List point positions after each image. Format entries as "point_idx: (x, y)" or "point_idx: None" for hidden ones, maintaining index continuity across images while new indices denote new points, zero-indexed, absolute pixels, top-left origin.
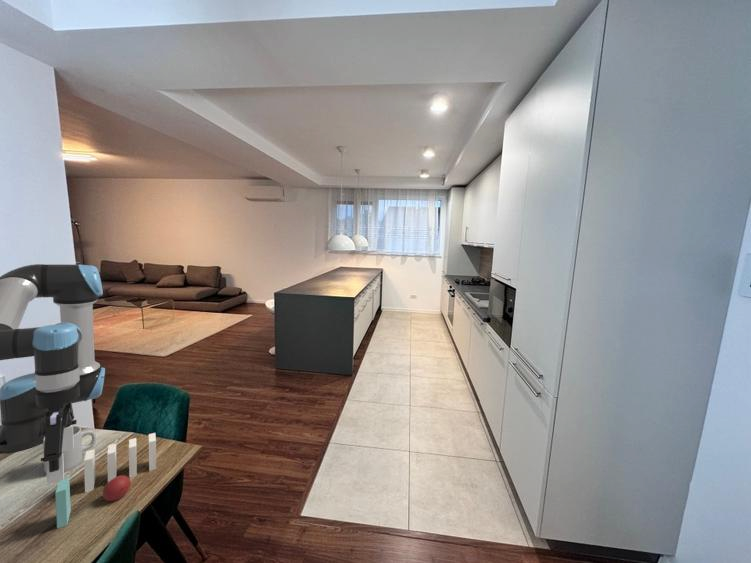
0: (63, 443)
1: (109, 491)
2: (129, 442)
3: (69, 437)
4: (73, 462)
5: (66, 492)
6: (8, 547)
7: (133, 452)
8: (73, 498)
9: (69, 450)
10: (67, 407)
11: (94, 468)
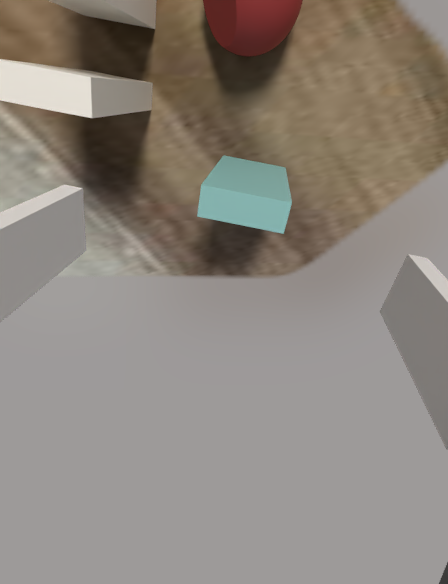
0: (54, 254)
1: (285, 27)
2: None
3: (27, 237)
4: None
5: (276, 193)
6: (261, 274)
7: None
8: (161, 144)
9: None
10: None
11: (77, 70)
